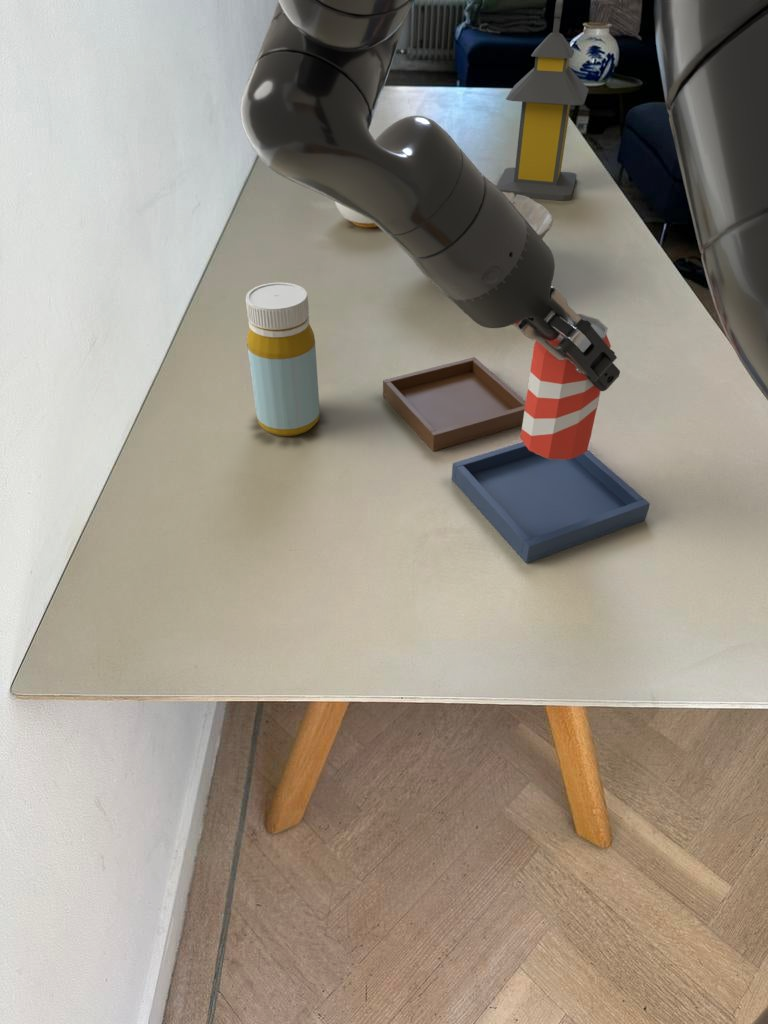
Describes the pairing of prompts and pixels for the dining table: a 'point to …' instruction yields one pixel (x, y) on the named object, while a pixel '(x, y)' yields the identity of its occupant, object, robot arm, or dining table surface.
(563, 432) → the beverage can
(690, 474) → the dining table surface
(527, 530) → the tray
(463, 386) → the tray
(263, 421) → the bottle
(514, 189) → the lantern
